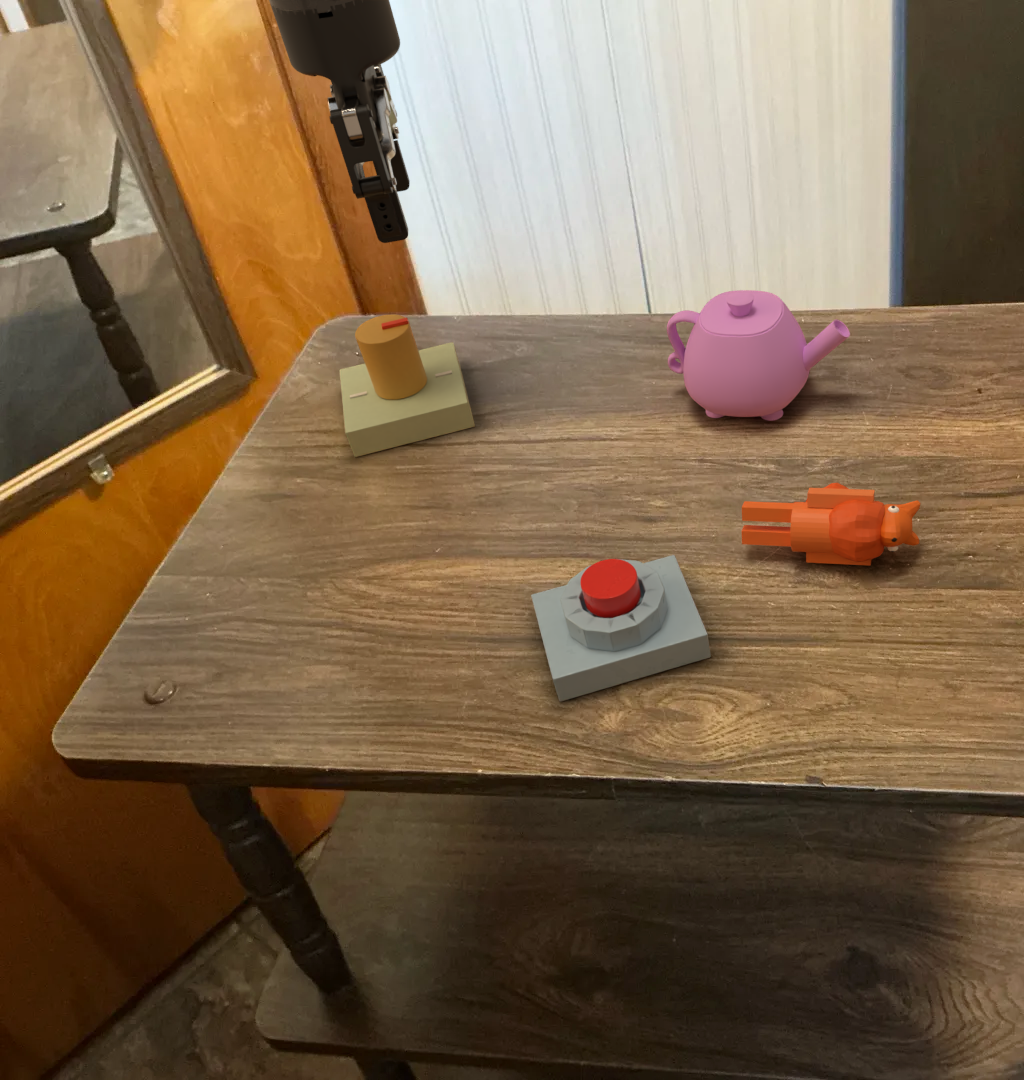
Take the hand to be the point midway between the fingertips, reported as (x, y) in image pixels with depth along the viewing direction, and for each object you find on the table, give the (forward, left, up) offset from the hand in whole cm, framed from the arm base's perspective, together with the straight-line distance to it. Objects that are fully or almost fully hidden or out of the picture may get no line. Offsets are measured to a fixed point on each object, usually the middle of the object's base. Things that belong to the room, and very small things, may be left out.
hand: (395, 213), depth 86 cm
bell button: (+7, -32, -14) cm, 36 cm away
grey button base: (+7, -32, -17) cm, 38 cm away
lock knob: (-4, +1, -15) cm, 15 cm away
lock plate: (-4, +1, -17) cm, 18 cm away
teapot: (+24, -10, -18) cm, 32 cm away
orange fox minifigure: (+23, -29, -18) cm, 41 cm away
